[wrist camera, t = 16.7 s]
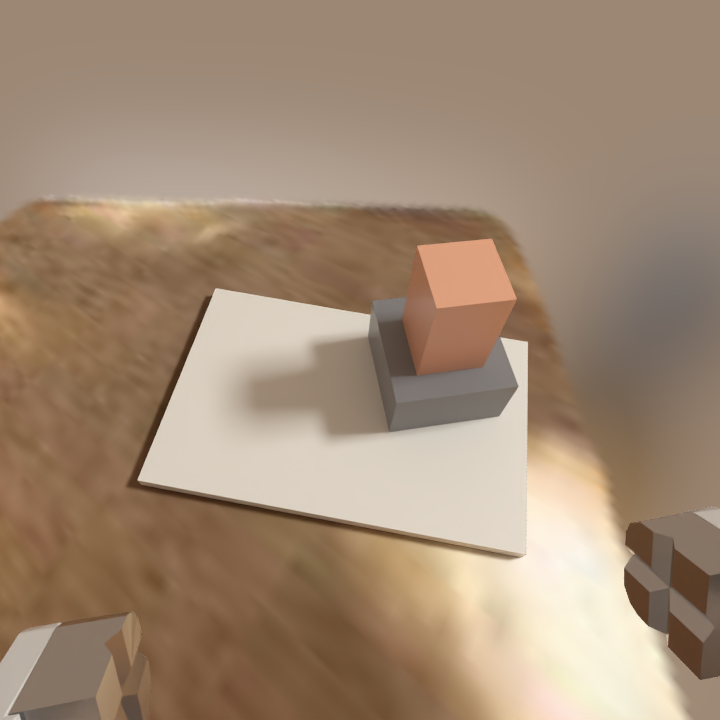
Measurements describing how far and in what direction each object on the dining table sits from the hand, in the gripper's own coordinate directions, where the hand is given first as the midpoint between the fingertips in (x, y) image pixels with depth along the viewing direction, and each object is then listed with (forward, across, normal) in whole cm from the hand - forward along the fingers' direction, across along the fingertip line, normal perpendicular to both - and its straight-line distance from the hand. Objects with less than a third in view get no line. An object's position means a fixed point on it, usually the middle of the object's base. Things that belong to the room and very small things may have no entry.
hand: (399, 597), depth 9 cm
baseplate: (+33, -3, +8) cm, 34 cm away
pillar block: (+30, -10, +3) cm, 32 cm away
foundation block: (+34, -10, +7) cm, 36 cm away
